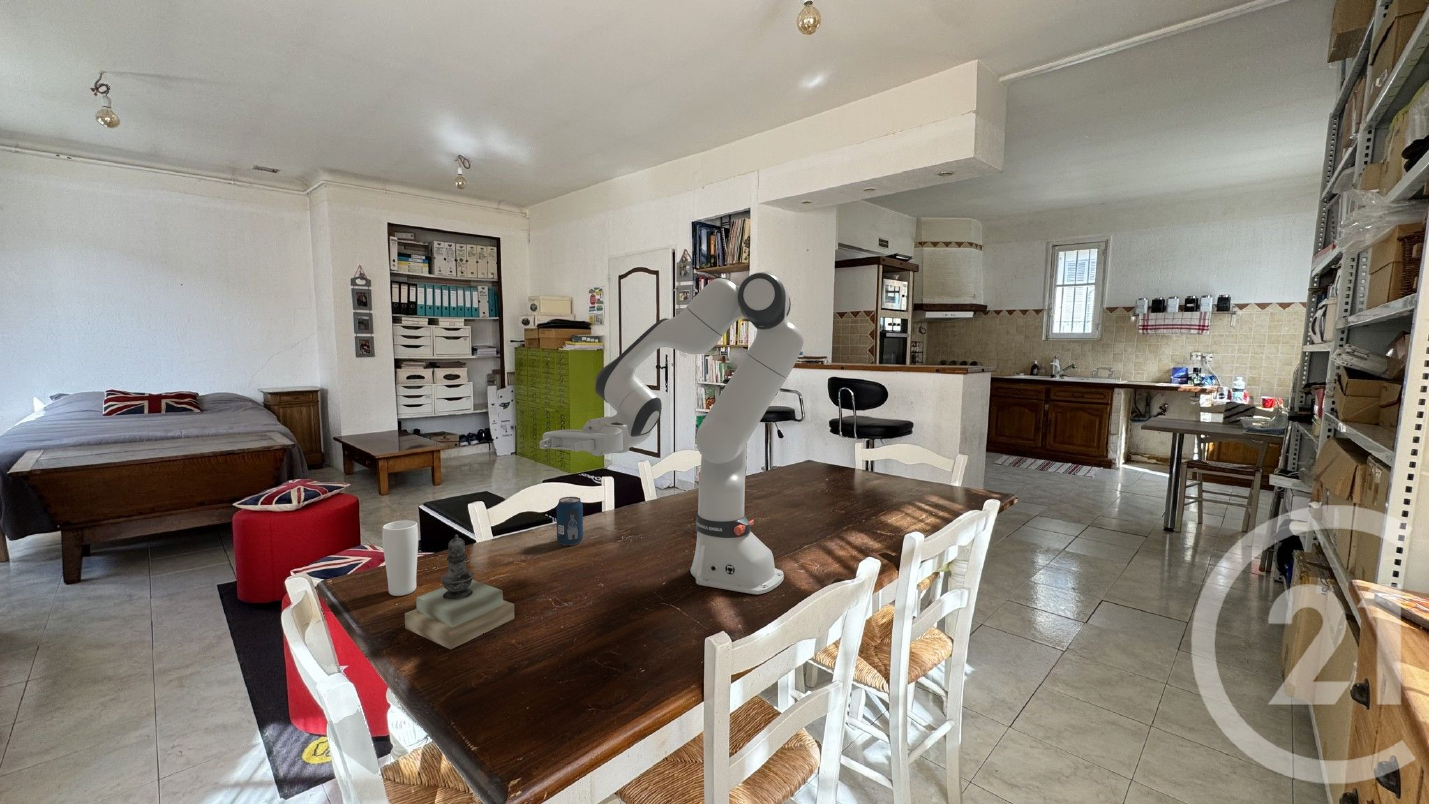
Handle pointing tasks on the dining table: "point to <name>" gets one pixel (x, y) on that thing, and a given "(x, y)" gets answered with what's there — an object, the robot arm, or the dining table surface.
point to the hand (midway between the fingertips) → (557, 446)
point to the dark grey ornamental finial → (457, 572)
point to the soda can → (569, 521)
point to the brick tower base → (460, 630)
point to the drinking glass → (401, 556)
